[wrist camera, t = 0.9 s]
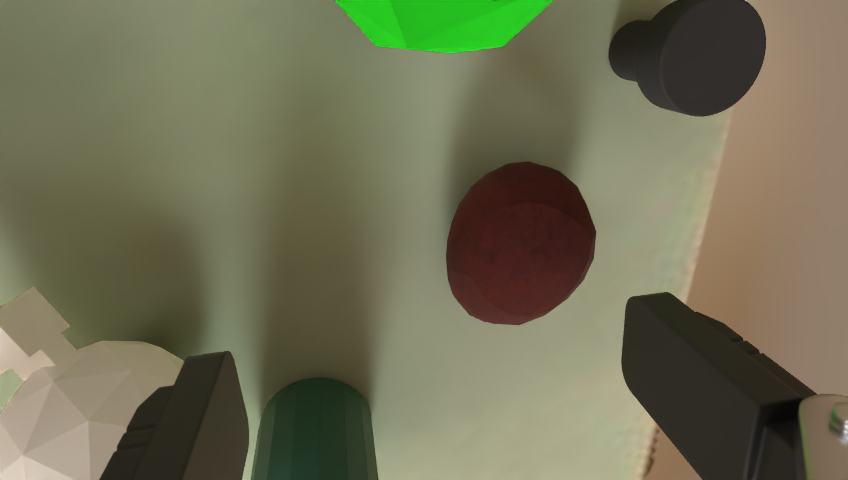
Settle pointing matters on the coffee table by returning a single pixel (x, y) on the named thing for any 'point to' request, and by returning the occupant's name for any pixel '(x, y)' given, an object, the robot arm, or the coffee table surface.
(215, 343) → the coffee table surface
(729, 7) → the stopper
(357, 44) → the coffee table surface
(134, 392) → the perfume bottle
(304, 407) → the green bottle
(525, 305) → the potato
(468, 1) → the miniature building
